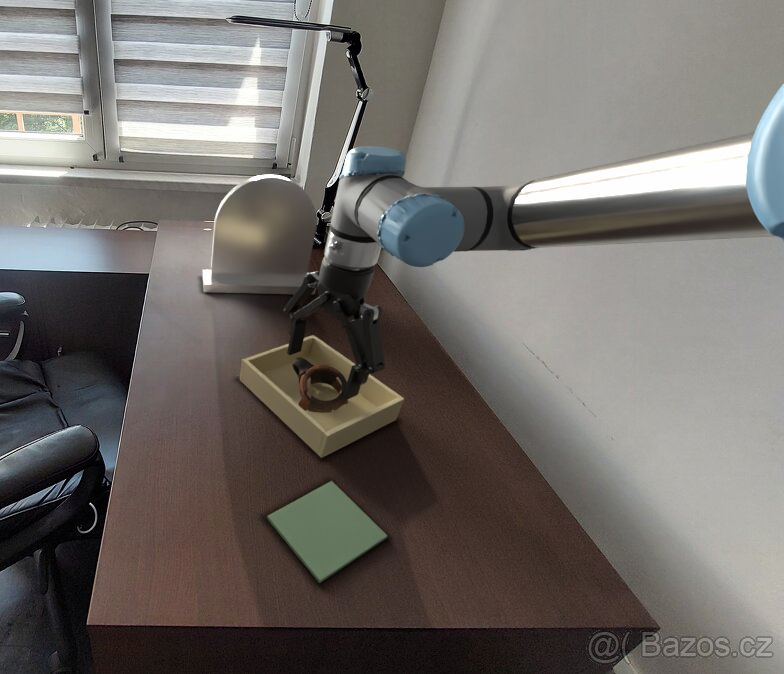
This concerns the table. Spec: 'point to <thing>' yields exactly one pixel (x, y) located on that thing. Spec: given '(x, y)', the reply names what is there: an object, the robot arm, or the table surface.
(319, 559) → the mat
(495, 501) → the table surface
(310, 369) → the pottery mug
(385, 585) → the table surface
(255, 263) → the award
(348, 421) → the cream yellow tray
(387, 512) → the table surface
